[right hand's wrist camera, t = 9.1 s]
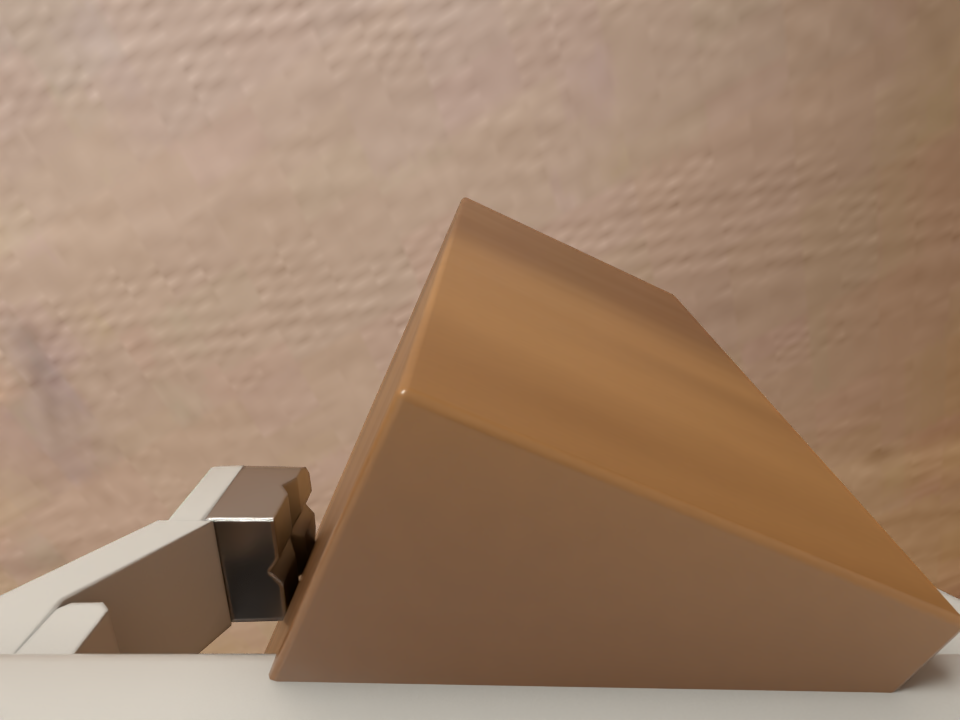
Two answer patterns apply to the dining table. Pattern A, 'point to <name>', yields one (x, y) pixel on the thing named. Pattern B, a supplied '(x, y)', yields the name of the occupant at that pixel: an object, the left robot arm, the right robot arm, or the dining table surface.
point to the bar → (590, 505)
